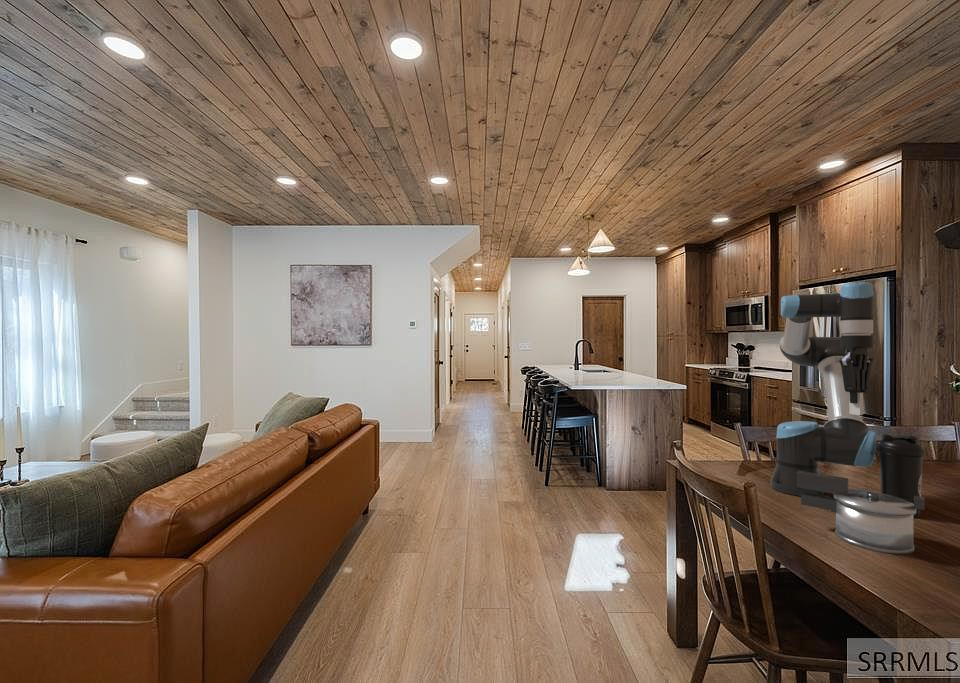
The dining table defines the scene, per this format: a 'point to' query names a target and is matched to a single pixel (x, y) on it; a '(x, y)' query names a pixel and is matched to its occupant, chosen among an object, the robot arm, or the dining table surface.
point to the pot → (867, 526)
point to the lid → (859, 495)
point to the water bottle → (901, 467)
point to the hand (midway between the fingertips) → (856, 414)
